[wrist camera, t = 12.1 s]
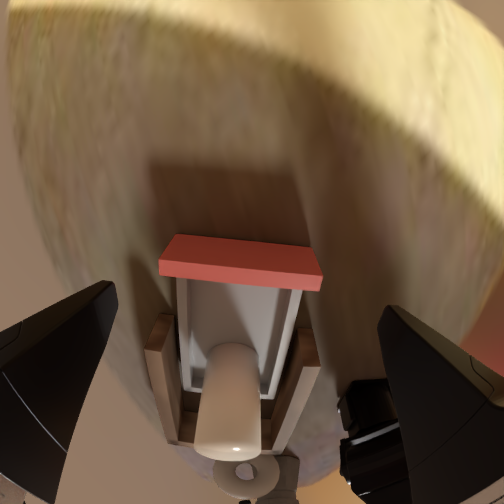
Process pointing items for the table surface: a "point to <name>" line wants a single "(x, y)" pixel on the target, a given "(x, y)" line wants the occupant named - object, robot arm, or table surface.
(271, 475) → the donut
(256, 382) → the canister
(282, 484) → the coffeepot
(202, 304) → the tray
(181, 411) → the slot
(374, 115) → the table surface
